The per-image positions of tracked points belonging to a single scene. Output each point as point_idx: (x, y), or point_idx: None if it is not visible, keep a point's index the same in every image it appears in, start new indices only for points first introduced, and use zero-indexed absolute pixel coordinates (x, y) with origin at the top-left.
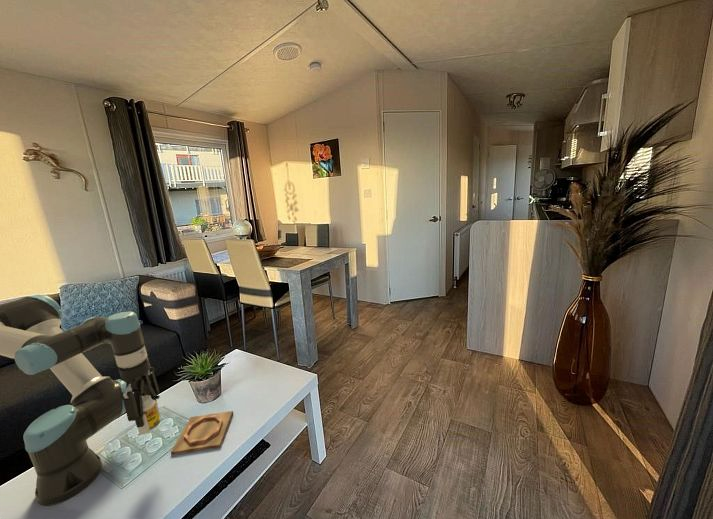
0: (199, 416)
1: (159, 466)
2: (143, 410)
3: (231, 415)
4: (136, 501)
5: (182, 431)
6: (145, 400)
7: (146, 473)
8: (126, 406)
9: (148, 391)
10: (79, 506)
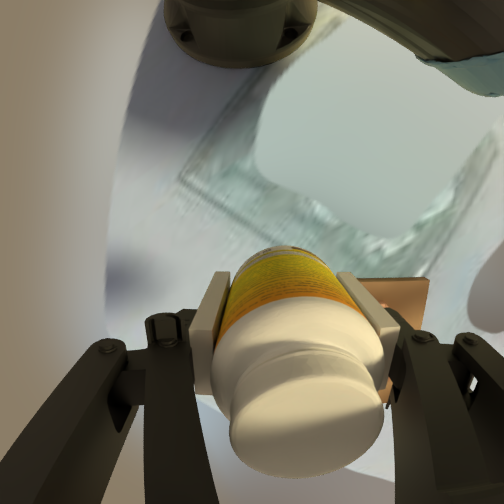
0: (421, 311)
1: (240, 259)
2: (219, 406)
3: (386, 400)
4: (131, 249)
5: (370, 282)
6: (270, 466)
7: (220, 228)
8: (23, 456)
9: (402, 462)
10: (145, 89)
